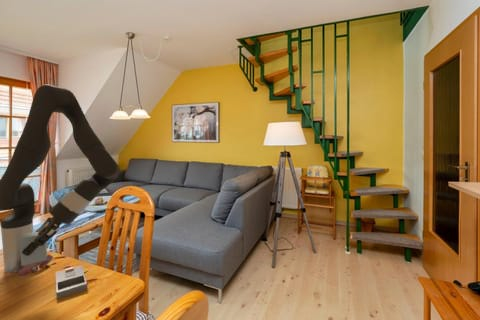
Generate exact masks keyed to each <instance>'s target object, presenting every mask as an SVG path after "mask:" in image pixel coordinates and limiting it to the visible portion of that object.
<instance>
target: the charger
mask: <svg viewBox="0 0 480 320" xmlns="http://www.w3.org/2000/svg"><path fill="white" fill-rule="evenodd" d="M42 233H43V232H42ZM37 236H38V232H36V231H33V232H32V233H27V234H21V235H20V238H19V240H20V253H21V266H24V265H28V264H32V263H36V262H40V261H45V260H47V254H48V249H47V242H46V243H45V244H44V245H42V246H38V247H37V248H36V249H35V250H34V251H33V252H32V253H31V254H30V255H29V256H26V255H24V254H22V251H23V250H24V249H25V248H26V247H27V246H28V245H29V244H30V243H31V242H32V241H33V240H34V239H35V238H36V237H37ZM39 240H41V241H42V240H43V238H40V239H39Z"/></svg>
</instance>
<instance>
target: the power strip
mask: <svg viewBox="0 0 480 320" xmlns="http://www.w3.org/2000/svg"><path fill="white" fill-rule="evenodd" d="M83 267H84V266H83V264H80V265H77V266H70V267H66V268H65V269H62V270H58V271H55V286H56V287H55V290H56V292H55V293H56V299H57V300H58V299H59V300H60V299H62V298H66V297H68V296H72V295H75V294H78V293H81V292H84V291H87V290H88V282H87V279H86V275H85V271H84V268H83Z"/></svg>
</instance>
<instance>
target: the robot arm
mask: <svg viewBox="0 0 480 320" xmlns="http://www.w3.org/2000/svg"><path fill="white" fill-rule="evenodd" d="M82 109H83V108H82V107H81V105H80V104H79V101H78V99H77V97H76V96H75V95H74V93H73V92H72V91H71V90H69V89H67V88H64V87H60V86H56V85H53V84H48V83H47V84H41V85H40V86H39V87H38V88H37V89H36V90H35V92H34V95H33V99H32V101H31V105H30V108H29V113H28V117H27V120H26V123H25V125H24V126H23V127H24V128H23V130H22V133H21V135H20V137H19V139H18V141H17V144H16V145H15V148H14V151H13V153H12V156H11V159H10V161H9V163H8V164H7V167H6V169H5V171H4V173H3V175H2V176H1V178H0V211H9V210H11V212H9V214H8V215H6V216H5V217H3V218H2V219H1V221H0V231H1V241H2V243H1V244H2V255H3V256H2V258H3V270H4V272H5V273H17V272H18V273H19V271H20V270H21V269H22V268H24V267H25V266H26V265H24V266H21V253H20V240H19V238H20V235H21V234H27V233H32V232H34V223H33V221H34V216H35V204H36V203H35V192H34V189H33V187H32V185H30V184H29V183H27V182H24V181H25V180H26V179H27V178H28V177H29V176H30V175H31V174H32V173H33V172H35V171H36V170H37V169H38V168H39V167H40V166H41V165H42V164H43V163H44V162H45V160H46V158H47V156H48V155H49V154H48V153H49V151H50V150H51V144H52V142H51V138H50V137H51V136H50V134H49V130H48V125H49V122H50V119H51V117H52V115H53V114H54V113H56V114H57V113H58V114H63V116H64V117H66V118H67V119H68V121H69V122H70V123H71V127H72V135H73V136H72V137H73V140H74V141H75V143H76V144H75V145H77V147H78V148H79V149H80V152H81V153H82V154H83V155H84V156H85V158H86V159H87V160H88V162H89V164H90V165H91V167H92V169H93V170H94V171H95V172H94V173H93V174H91V176H89V177H86V178H83V179H82V180H80V182H79V183H77V185H75V187H73V188H72V189H71V190H70V191H68V192H67V193H66V194H65V195H64V196H63V197H62V198H60V200H59V201H58V202H56V203H55V204H54V205H53V206H52V208H50V209H49V214H50V215H51V216H52V217H48V218H47V219H46V220H44V222H43V223H42V224H41V226H39V228H38V229H37V230H35V232H38V236H37V237H36V238H35V239H34V240H33V241H32V242H31V243H30V244H29V245H28V246H27V247H26V248H25V249H24V250H23V251H22V254H24V255H26V256H29V255H30V254H31V253H32V252H33V251H34V250H35V249H36V248H37V247H38V246H42V245H44V244H45V243H46V244H47V242H48V241H49V240H50V239H52V238H53V237H54V236H55V235H56V234H57V233H58V230H60V228H61V227H60V226H62V224H66V225H71V224H72V223H73V222H74V221H75V220H76V219H77V218H78V217H79V216H80V215H81V214H82V213H83V211H84V210H86V208H87V207H88V206H89V205H90V203H91V202H93V200H95V198H96V197H97V196H99V194H100V193H101V192H102V191H103V190H105V189H106V188H107V187H109V186H110V184H112V183H113V182H115V180H116V179H117V178H118V177H119V175H120V173H121V168H120V166H119V165H118V163H117V162H116V160H115V159H114V158H113V157H112V155H111V154H110V153H109V152H108V151H107V148H106V147H105V145H104V143H102V140H101V139H100V138H99V137H98V136H97V134H96V133H95V131H94V130H93V128H92V127H91V125H90V123H89V121H88V119H87V117H86V115H85V114H84V111H83V110H82ZM42 232H43V233H42ZM40 238H43V240H42V241H41V240H39V239H40Z"/></svg>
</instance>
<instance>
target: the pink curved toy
mask: <svg viewBox="0 0 480 320" xmlns="http://www.w3.org/2000/svg"><path fill="white" fill-rule="evenodd" d="M53 258H54V257H53V255H51V254H48V253H47V260H45V261H40V262H36V263H32V264H28V265H26V266H25V267H24V268H22V269H21V270H20V271H18V274H19V275H18V276H21V277H22V276H25V275H28V274H29V273H31V274H33V273H36V272H38V271H39V269H40V270H43V269H44V268H45V267H46V266H47V265H48V264H49V263H51V261H53Z"/></svg>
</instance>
